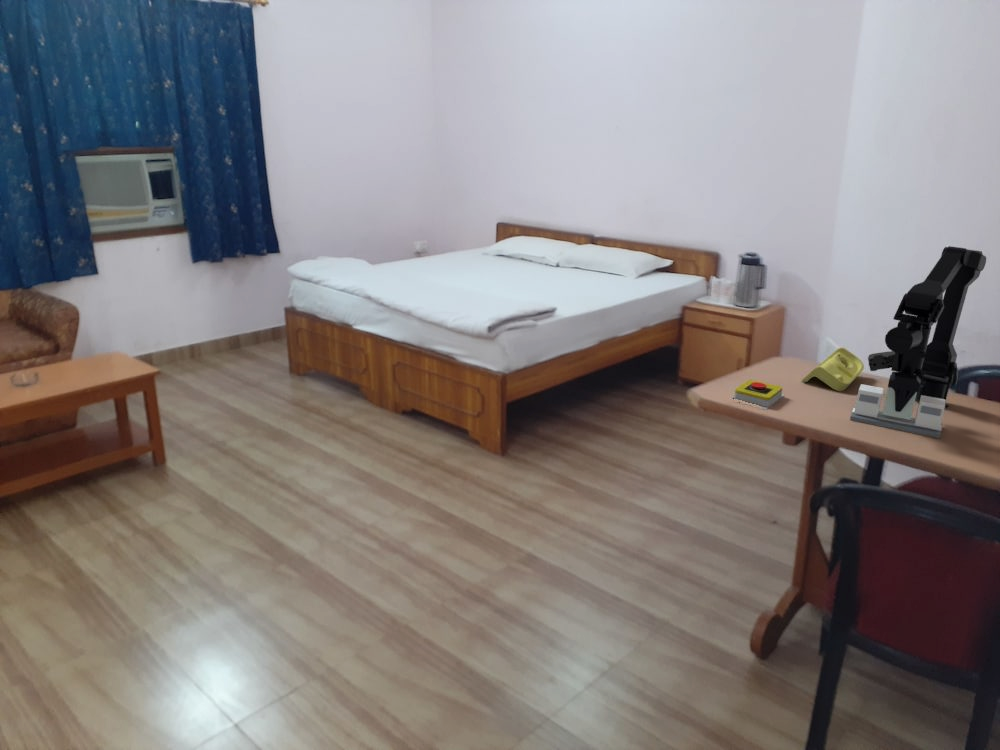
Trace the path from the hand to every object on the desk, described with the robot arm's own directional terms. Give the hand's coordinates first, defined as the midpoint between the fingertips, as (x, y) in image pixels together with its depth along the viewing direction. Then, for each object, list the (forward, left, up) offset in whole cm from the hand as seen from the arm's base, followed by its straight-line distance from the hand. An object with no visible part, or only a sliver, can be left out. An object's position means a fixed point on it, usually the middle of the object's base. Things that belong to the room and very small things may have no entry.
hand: (898, 408), depth 175 cm
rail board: (0, 0, -4) cm, 4 cm away
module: (0, 0, -2) cm, 2 cm away
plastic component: (+1, -31, -4) cm, 32 cm away
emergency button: (+28, -15, -5) cm, 32 cm away
